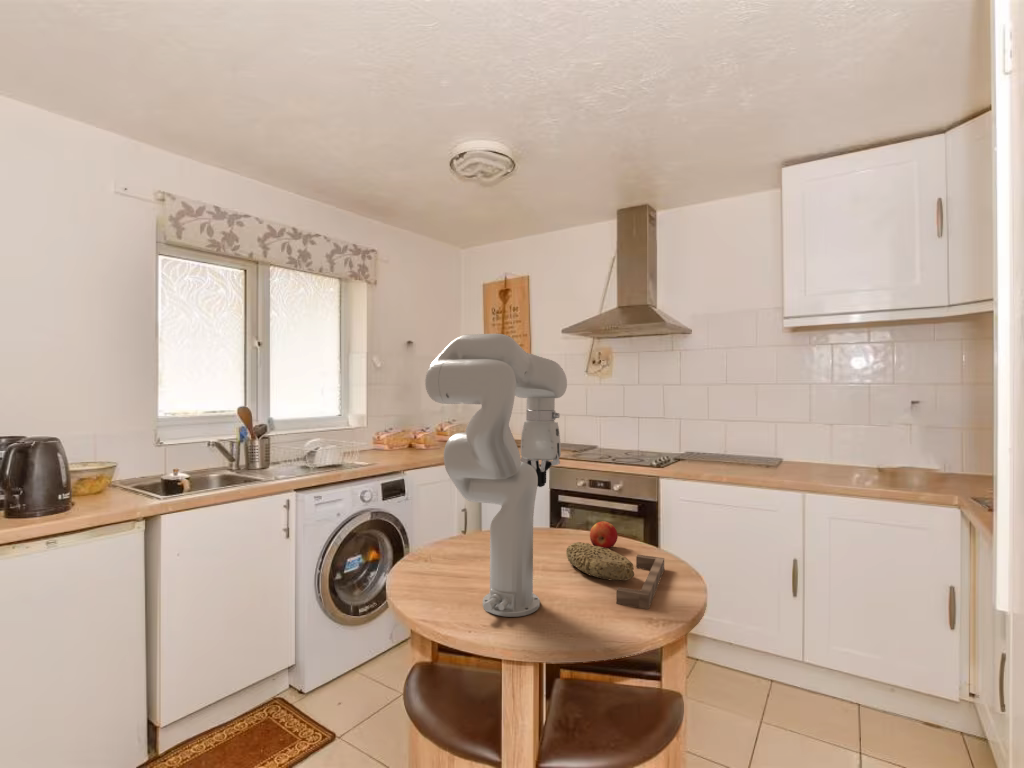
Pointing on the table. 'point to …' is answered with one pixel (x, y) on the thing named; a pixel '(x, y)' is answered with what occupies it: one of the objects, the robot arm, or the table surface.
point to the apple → (603, 534)
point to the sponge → (599, 561)
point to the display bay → (648, 590)
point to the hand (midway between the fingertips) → (539, 485)
